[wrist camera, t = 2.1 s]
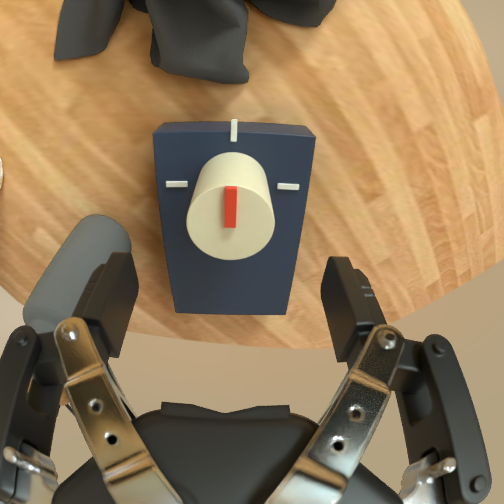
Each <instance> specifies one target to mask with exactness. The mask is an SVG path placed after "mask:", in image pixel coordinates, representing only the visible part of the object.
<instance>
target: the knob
mask: <svg viewBox="0 0 504 504" xmlns="http://www.w3.org/2000/svg"><path fill="white" fill-rule="evenodd" d="M186 224H187V230H188V233H189V236H190V238H191V239H192V241H193V242H194V244H195V245H196V246H197V247H198V248H199V249H200V250H202V251H203V252H204V253H206V254H208V255H210V256H212V257H215V258H219V259H224V260H238V259H243V258H247V257H249V256H252V255H254V254H256V253H257V252H259V251H260V250H261V249H263V248H264V247H265V245H266V244H267V243H268V242H269V240H270V238H271V237H272V234H273V231H274V227H275V219H274V213H273V208H272V203H271V198H270V193H269V188H268V183H267V179H266V175H265V172H264V170H263V168H262V167H261V165H260V164H259V163H258V162H257V161H256V160H255V159H253V158H252V157H250V156H248V155H245V154H242V153H237V152H228V153H223V154H219V155H217V156H215V157H213V158H212V159H210V160H209V161H208V162H207V163H206V164H205V165H204V167H203V168H202V170H201V172H200V174H199V178H198V181H197V184H196V187H195V190H194V193H193V197H192V200H191V203H190V207H189V210H188V213H187V219H186Z"/></svg>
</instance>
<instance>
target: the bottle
mask: <svg viewBox="0 0 504 504" xmlns="http://www.w3.org/2000/svg"><path fill="white" fill-rule="evenodd" d="M112 252H130V253H131V242H130V239H129V236H128V234H127V232H126V231H125V230H124V228H123V227H122V226H121V225H120V224H119V223H117V222H116V221H115V220H113V219H111V218H109V217H106V216H103V215H91V216H87V217H85V218H84V219H82V220H81V221H80V222H79V224H78V225H77V226H76V227H75V229H74V230H73V231H72V233H71V234H70V235H69V237H68V238H67V239H66V241H65V242H64V243H63V245H62V246H61V248H60V249H59V251H58V252H57V253H56V255H55V256H54V258H53V259H52V261H51V262H50V264H49V265H48V267H47V269H46V270H45V272H44V273H43V275H42V276H41V278H40V280H39V281H38V283H37V285H36V286H35V288H34V290H33V291H32V293H31V295H30V296H29V298H28V300H27V302H26V304H25V306H24V308H23V319H24V322H25V324H26V325H28V326H31V327H32V328H33V329H34V330H35V332H36V333H37V334H40V333H46V332H52V331H55V329H56V327H57V325H58V324H59V323H60V322H61V321H63V320H65V319H67V318H70V317H71V316H72V313H73V311H74V309H75V307H76V305H77V303H78V300H79V298H80V296H81V294H82V292H83V290H84V288H85V286H86V284H87V283H88V280H89V278H90V276H91V274H92V272H93V271H94V270H95V269H96V268H97V267H98V266H99V265H100V264H106V263H107V261H108V259H109V257H110V255H111V253H112ZM31 381H32V378H31ZM31 381H30V385H31ZM30 385H29V388H30ZM29 388H28V392H29ZM68 403H69V399H68V397H67V394H66V391H65V388H64V387H63V391H62V395H61V399H60V404H59V405H67V404H68Z"/></svg>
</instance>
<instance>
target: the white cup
mask: <svg viewBox="0 0 504 504" xmlns="http://www.w3.org/2000/svg"><path fill="white" fill-rule="evenodd" d="M2 181H3V168H2V161H1V158H0V189H1V187H2Z"/></svg>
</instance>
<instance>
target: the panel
mask: <svg viewBox="0 0 504 504" xmlns="http://www.w3.org/2000/svg"><path fill="white" fill-rule="evenodd" d="M237 120H238V119H231V122H169V123H163V124H162V125H161V126H160V127H159V128H158V129H157V130H156V131H155V132H154V133H153V145H154V159H155V171H156V181H157V191H158V201H159V209H160V218H161V225H162V233H163V240H164V247H165V254H166V260H167V267H168V273H169V279H170V285H171V290H172V296H173V301H174V307H175V312H176V313H192V314H225V315H286V311H287V306H288V301H289V296H290V291H291V286H292V281H293V275H294V270H295V265H296V259H297V254H298V248H299V243H300V237H301V231H302V225H303V219H304V213H305V207H306V201H307V195H308V188H309V182H310V175H311V168H312V162H313V155H314V147H315V140H316V137H315V136H314V134H313V133H312V132H311V131H310V130H309V129H308V128H307V127H306V126H299V125H287V124H273V123H255V122H237ZM228 152H237V153H242V154H245V155H248V156H250V157H252V158H253V159H255V160H256V161H257V162H258V163H259V164H260V165H261V167H262V168H263V170H264V172H265V175H266V179H267V183H268V188H269V193H270V198H271V203H272V208H273V213H274V219H275V227H274V231H273V234H272V237H271V238H270V240H269V242H268V243H267V244H266V245H265V247H264V248H263V249H261V250H260V251H259V252H257V253H256V254H254V255H252V256H249V257H247V258H243V259H238V260H224V259H219V258H215V257H212V256H210V255H208V254H206V253H204V252H203V251H202V250H200V249H199V248H198V247H197V246H196V245H195V244H194V242H193V241H192V239H191V238H190V236H189V233H188V230H187V224H186V219H187V213H188V210H189V207H190V203H191V200H192V197H193V193H194V190H195V187H196V184H197V181H198V178H199V174H200V172H201V170H202V168H203V167H204V165H205V164H206V163H207V162H208V161H209V160H210V159H212V158H213V157H215V156H217V155H219V154H223V153H228Z"/></svg>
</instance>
